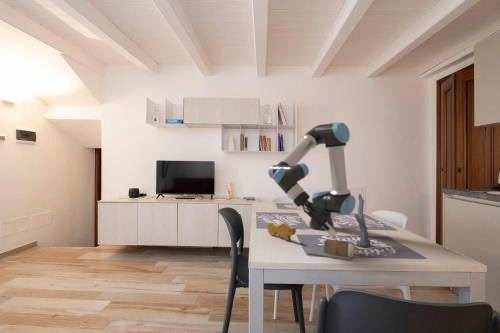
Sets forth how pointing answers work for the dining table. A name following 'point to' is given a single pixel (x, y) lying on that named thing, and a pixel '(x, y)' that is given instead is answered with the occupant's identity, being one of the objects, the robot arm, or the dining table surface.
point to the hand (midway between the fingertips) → (334, 235)
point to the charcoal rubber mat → (319, 251)
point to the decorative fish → (281, 230)
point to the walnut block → (339, 247)
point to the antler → (362, 225)
